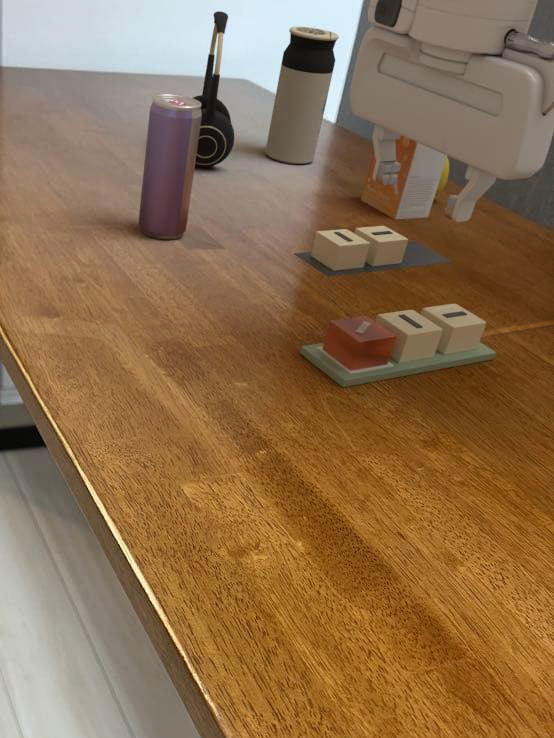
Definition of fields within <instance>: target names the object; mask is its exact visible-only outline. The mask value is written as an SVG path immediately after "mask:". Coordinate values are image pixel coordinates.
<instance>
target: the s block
mask: <svg viewBox="0 0 554 738" xmlns="http://www.w3.org/2000/svg"><path fill="white" fill-rule="evenodd" d="M395 340H396V335H394V334H393V333H391V332H390V331H388V330H387V329H385V328H384V327H382V326H381V325H380V324H378V323H377V322H376V320H374V319H372V318H370V316H368V315H360V316H353V317H346V318H339V319H333V320H332V319H331V320H330V321H329V322H328V325H327V330H326V333H325V337H324V341H323V343H324V345H323V349H324V350H325V351H326V352H327V353H329V354H330V355H331V356H333V357H334V358H335V359H337V360H338V361H339V362H341V363H342V364H343V365H345V366H346V367H347V368H348V369H350V370H357V369H363V368H369V367H374V366H380V365H385V364H388V362H389V359H390V355H391V352H392V349H393V346H394V343H395Z"/></svg>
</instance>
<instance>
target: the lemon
mask: <svg viewBox="0 0 554 738" xmlns="http://www.w3.org/2000/svg"><path fill="white" fill-rule="evenodd" d="M449 173H450V161H449V158H448V157H447V159H446V162H445V165H444V168H443V171H442V174H441V178H440V181H439V184H438V187H437V190H436V194H435V197H434V199H435V198H436V197H438V196H439V195H440V194H441V193H442V192H443V190H444V189H445V186H446V185H447V182H448V178H449Z"/></svg>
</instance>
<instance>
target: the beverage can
mask: <svg viewBox="0 0 554 738" xmlns="http://www.w3.org/2000/svg"><path fill="white" fill-rule="evenodd" d="M148 116H149V117H148V123H147V124H148V125H147V132H146V133H147V135H146V145H145V153H144V163H143V165H144V166H143V172H142V173H143V174H142V184H141V194H140V202H139V213H138V223H137V224H138V227H139V229H140V231H141V233H143V235H145V236H148V237H150V238H152V239H153V238H154V239H158V240H167V241H170V240H176V239H177V240H178V239H179V238H181V237H182V236H183V235H184V234H185V233H186V231H187V225H188V217H189V212H190V211H189V210H190V203H191V197H192V189H193V182H194V181H193V180H194V173H195V168H196V167H195V160H196V153H197V146H198V139H199V131H200V124H201V117H202V113H201V103H200V102H199V101H198V100H196V99H193V97H190V96H184V95H180V94H170V93H169V94H167V93H166V94H165V93H164V94H155V95H154V96H152V102H151V105H150V107H149V115H148Z"/></svg>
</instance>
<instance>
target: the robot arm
mask: <svg viewBox="0 0 554 738" xmlns="http://www.w3.org/2000/svg"><path fill="white" fill-rule="evenodd" d="M538 1H539V0H370V2H369V5H368V10H367V20H368V22H369V23H370V24H371V25H372V26H371V27H369V29H368V30H367V31H366V32H365V34H364V36H363V38H362V40H361V43H360V46H359V49H358V53H357V57H356V61H355V65H354V69H353V74H352V79H351V82H350V89H349V98H348V100H349V105H350V110H351V113H352V114H353V115H354V116H356V117H358V118H361V119H362V120H365V121H368V122H370V123H371V124H374V128H373V132H372V136H371V137H372V145H373V152H375V159H376V164H375V168H374V172H373V176H372V178H373V180H375V181H377V182H379V183H381V184H383V185H388V184H389V185H392V184H395V183H396V181H397V179H398V173H399V172H400V168H401V164H400V163H398V162H396V143H395V140H397V139H400V137H401V136H404V137H406V138H408V139H411V140H413V141H415V142H417V143H420V144H422V145H424V146H427V147H429V148H431V149H433V150H436V151H438V152H440V153H443V154H445V155H447V157H449V158H452V159H453V160H456V161H458V162H462V163H463V164H464V165H467V168H466V171H465V174H464V179H465V180H467V181H468V182H467V183H466V184H465V186H464V187H463V188H462V190H461V191H460V192H459V193H458V194H449V195H448V197H447V200H446V207H445V208H444V210H443V215H444V216H445V217H447V218H448V219H450V220H452V221H454V222H456V223H464V222H468V221H469V219H471V217H472V215H473V212H474V209H475V206H476V203H477V201H478V200H479V199H481V197H482V196H483V195H485V193H487V191H488V190H489V189H490V188H491V187H492V186H493V185H494V184H495V183H496V181H497V179H499V180H502V181H503V180H504V181H512V180H523V179H528V178H531V177H533V176H534V175H535V174H536V173H537V172H539V171H540V170H541V169H542V168H543V167H544V164H545V162H546V159H547V156H548V153H549V151H550V147H551V143H552V139H553V135H554V41H553V40H549V39H544V40H543V39H540V38H537V37H535V36H533V35H530V34H528V32H529V28H530V26H531V23H532V20H533V16H534V13H535V10H536V8H537V4H538Z"/></svg>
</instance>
